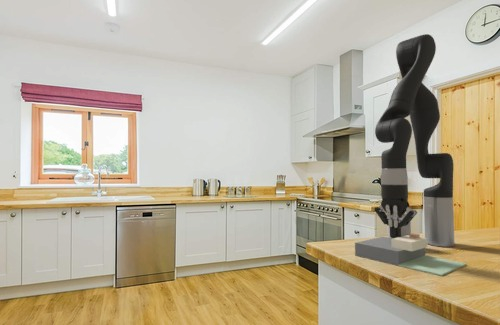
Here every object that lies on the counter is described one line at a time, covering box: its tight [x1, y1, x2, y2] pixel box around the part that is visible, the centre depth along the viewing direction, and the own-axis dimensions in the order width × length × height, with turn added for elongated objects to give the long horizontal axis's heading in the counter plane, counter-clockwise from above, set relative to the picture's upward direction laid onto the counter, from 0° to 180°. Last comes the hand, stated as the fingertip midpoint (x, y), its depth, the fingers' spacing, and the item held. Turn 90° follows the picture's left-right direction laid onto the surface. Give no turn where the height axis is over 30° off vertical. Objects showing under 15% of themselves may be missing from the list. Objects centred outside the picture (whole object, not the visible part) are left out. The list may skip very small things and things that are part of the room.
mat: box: [397, 254, 467, 277], centre depth 86 cm, size 16×11×1 cm
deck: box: [354, 236, 426, 267], centre depth 96 cm, size 16×14×4 cm
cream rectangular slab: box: [391, 232, 428, 251], centre depth 91 cm, size 9×6×4 cm, turn 125°
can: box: [386, 212, 412, 238], centre depth 109 cm, size 8×8×12 cm
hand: (395, 239), depth 95 cm, fingers closed
